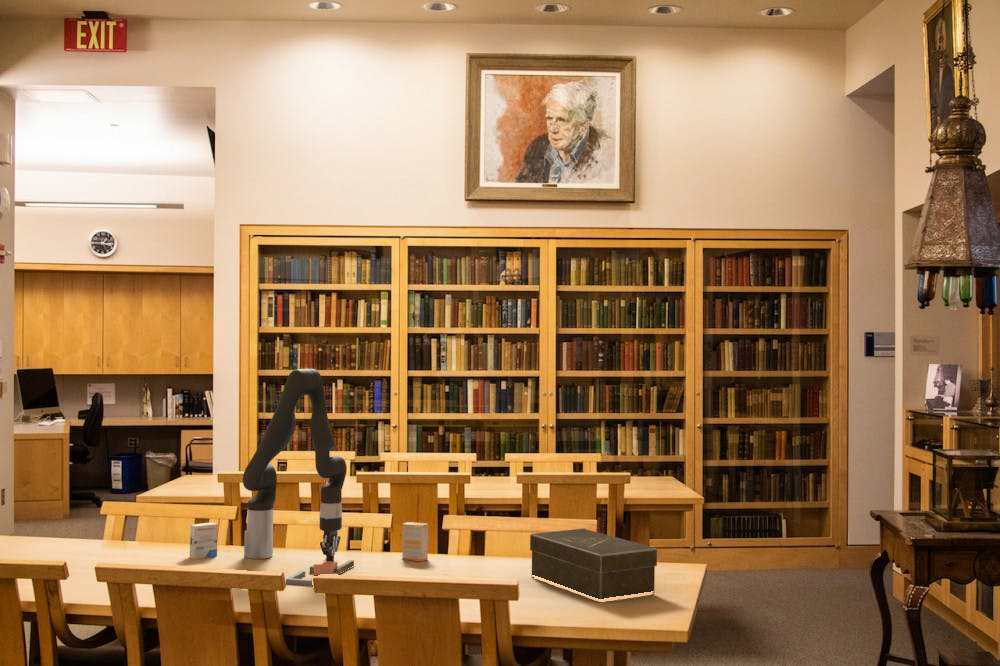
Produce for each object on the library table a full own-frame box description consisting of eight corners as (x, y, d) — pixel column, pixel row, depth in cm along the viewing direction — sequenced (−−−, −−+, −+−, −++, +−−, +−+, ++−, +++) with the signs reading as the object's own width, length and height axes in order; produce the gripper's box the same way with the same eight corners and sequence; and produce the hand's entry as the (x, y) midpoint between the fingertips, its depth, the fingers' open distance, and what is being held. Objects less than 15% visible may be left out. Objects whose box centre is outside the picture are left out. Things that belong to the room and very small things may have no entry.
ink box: (211, 554, 371) (212, 522, 371) (217, 556, 367) (218, 524, 367) (189, 557, 365) (189, 524, 366) (194, 559, 361) (195, 526, 362)
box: (600, 604, 308) (600, 555, 308) (529, 578, 341) (529, 533, 341) (657, 596, 319) (657, 548, 320) (583, 571, 353) (583, 528, 353)
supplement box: (428, 559, 367) (428, 523, 367) (421, 562, 363) (422, 525, 363) (408, 557, 371) (408, 521, 371) (401, 559, 366) (402, 523, 367)
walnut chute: (309, 572, 343) (309, 567, 343) (325, 564, 356) (326, 558, 357) (338, 575, 340) (338, 569, 341) (353, 566, 354) (353, 560, 354)
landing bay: (284, 583, 327) (284, 579, 327) (301, 575, 339) (301, 570, 339) (322, 586, 324) (322, 581, 324) (337, 577, 336) (337, 573, 336)
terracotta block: (313, 576, 339) (313, 564, 339) (320, 572, 345) (320, 560, 345) (330, 577, 338) (330, 565, 338) (337, 573, 344) (337, 561, 344)
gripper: (328, 511, 354) (327, 561, 354) (312, 518, 341) (311, 569, 341) (348, 513, 352) (347, 563, 352) (333, 519, 340) (332, 571, 339)
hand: (329, 566), depth 347 cm, fingers closed
